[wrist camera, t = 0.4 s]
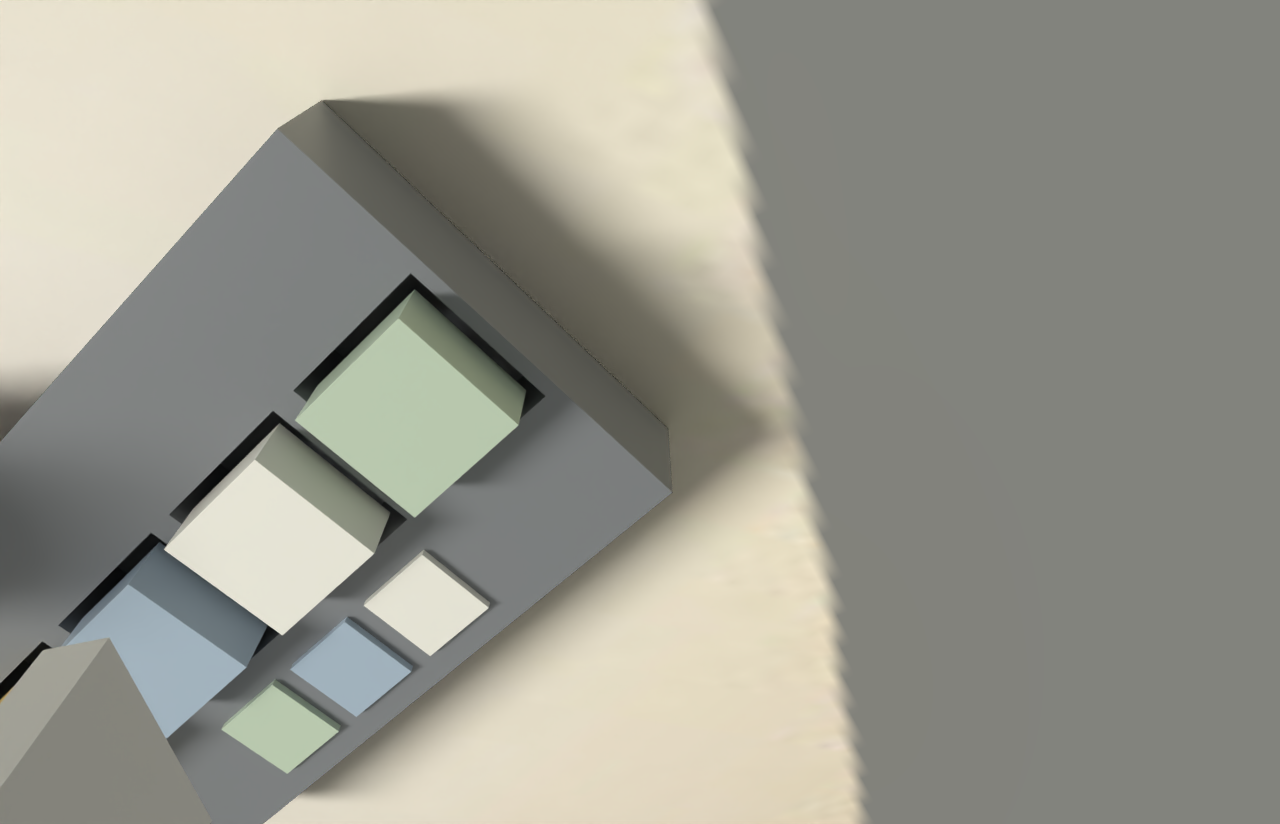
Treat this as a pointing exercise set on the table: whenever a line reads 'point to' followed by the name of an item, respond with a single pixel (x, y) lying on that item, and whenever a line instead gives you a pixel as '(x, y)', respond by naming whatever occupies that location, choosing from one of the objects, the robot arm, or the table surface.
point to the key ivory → (280, 531)
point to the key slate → (173, 635)
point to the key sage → (414, 405)
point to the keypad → (276, 393)
